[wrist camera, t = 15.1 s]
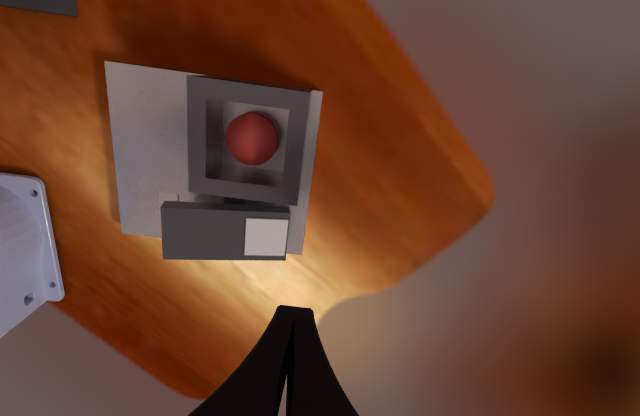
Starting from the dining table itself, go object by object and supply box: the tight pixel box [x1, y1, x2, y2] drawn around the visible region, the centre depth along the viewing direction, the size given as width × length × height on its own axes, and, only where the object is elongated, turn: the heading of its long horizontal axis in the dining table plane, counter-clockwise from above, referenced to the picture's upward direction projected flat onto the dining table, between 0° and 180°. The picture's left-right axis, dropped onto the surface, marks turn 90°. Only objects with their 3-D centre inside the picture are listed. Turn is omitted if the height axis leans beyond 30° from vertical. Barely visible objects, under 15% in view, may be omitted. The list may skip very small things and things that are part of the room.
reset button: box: [225, 111, 281, 166], centre depth 18 cm, size 3×3×2 cm
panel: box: [104, 61, 323, 255], centre depth 19 cm, size 10×12×4 cm
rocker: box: [160, 201, 290, 260], centre depth 19 cm, size 3×7×1 cm, turn 82°
